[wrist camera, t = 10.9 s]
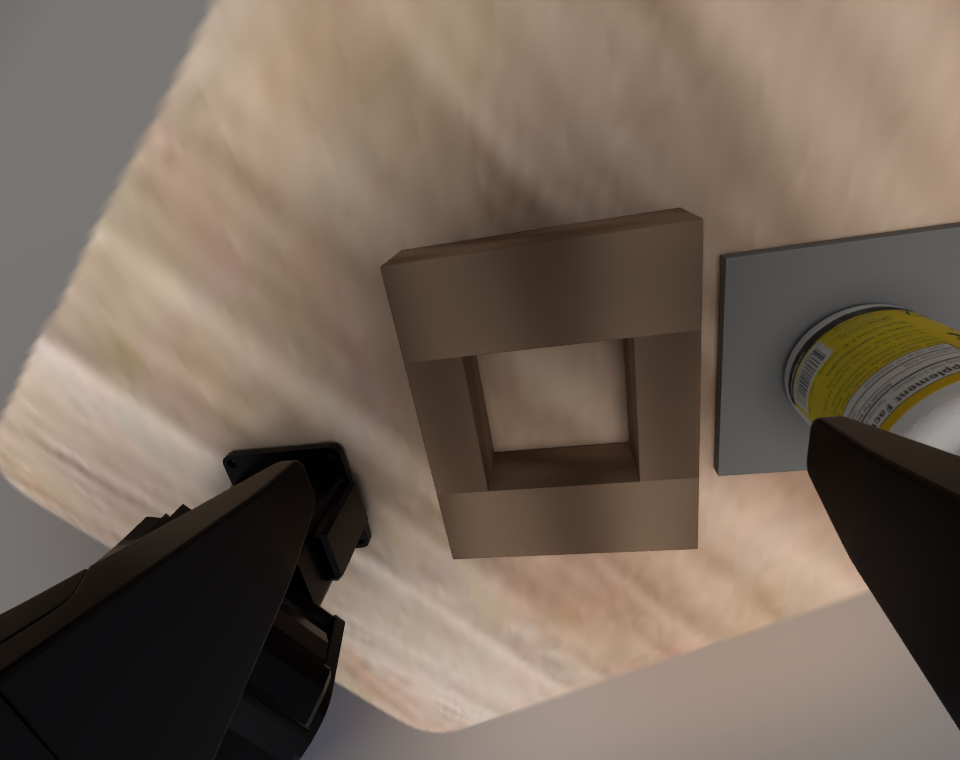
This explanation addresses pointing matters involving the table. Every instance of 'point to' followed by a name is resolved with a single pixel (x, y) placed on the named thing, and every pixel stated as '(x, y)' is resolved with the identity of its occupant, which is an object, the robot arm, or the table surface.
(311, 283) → the table surface
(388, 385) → the table surface
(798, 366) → the supplement bottle
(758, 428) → the coaster
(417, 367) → the pocket holder
